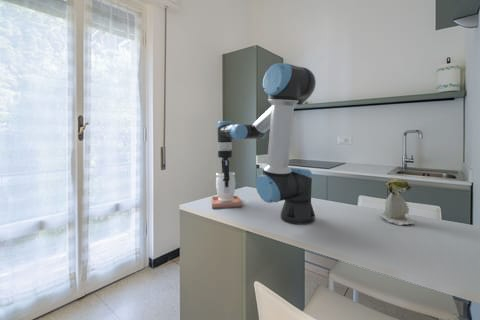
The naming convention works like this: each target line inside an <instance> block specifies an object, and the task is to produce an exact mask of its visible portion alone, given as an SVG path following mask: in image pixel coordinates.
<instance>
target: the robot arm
mask: <svg viewBox="0 0 480 320" xmlns="http://www.w3.org/2000/svg"><path fill="white" fill-rule="evenodd" d="M262 88H263V90H264V93H266V95H268V98H267V101H268V102H269V103H270V105H271V106H270V107H269V108H268V109H267V110H265V112H264V113H262V115H261V116H259V117H258V119H256V120H255V121H254V122H253V123H252V124H248V123H247V124H244V123H243V124H241V123H235V124H232V121H231V120H219V121H218V122H217V149H218V151H217V156H218V157H217V158H220V159H221V172H223V173H224V179H223V181H224V193H229V180H230V179H229V172H230V161H229V160H228V159H229V158H230V159H231V158H232V157H233V151H232V150H233V147H232V146H234V144H233V140H236V141H240V140H241V141H242V140H260V139H264V138H266V135H267V132H268V130H269V134H268V137H269V138H268V149H267V162H266V165H265V166H264V167H262V174H261V175H259V176H258V177H257V178H256V181H255V188H256V192H257V194H258V195H259V197H260V199H262V201H264V202H266V203H268V204H271V203H272V204H273V203H279V202H281V201H284V203H283V204H282V208H281V211H280V219H281V220H282V221H284V222H285V223H289V224H292V225H293V224H294V225H307V224H312V223H314V222H315V221H316V214H315V211H314V208H313V205H312V190H313V189H312V188H313V187H312V184H313V183H312V182H313V176H312V170H310V169H307V168H301V167H290V166H289V160H290V151H291V139H292V131H293V119H294V110H295V109H294V108H295V107H297V106H301V105H303V103H305V102H306V101H307V100H308V99H309V98H310V97H311V96H312V94H313V93H314V91H315V89H316V77H315V74H314V73H313V72H312V71H311V69H309V68H307V67H303V66H298V65H293V64H289V63H281V62H277V63H274V64H272V65H271V66H270V67H269V68H268V69H267V70H266V71H265V74H264V76H263V80H262Z"/></svg>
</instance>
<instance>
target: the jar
mask: <svg viewBox="0 0 480 320" xmlns="http://www.w3.org/2000/svg"><path fill="white" fill-rule="evenodd" d="M235 175H236V173H235V172H233V171H229V179H230V180H229V193H224V181H223V179H224V173H223V172H222V171H219V172H216V173H215V176H216V179H215V187H216V194H217V196H219V198H218V200H219V201H223V202H228V201H232V200H233V199H234V198H233V196H234V195H235V189H236V178H235Z"/></svg>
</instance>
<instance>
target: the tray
mask: <svg viewBox="0 0 480 320" xmlns="http://www.w3.org/2000/svg"><path fill="white" fill-rule="evenodd" d="M218 198H219V196H218V195H217V196H210V200H211V201H210V202H211V209H212V210H213V209H228V208H230V209H231V208H242V207H243V202H242V200H241V198H240V196H239V195H238V194H237V195H236V194H234V195H233V198H234V199H233V200H232V201H228V202H223V201H219V200H218Z"/></svg>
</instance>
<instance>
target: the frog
mask: <svg viewBox="0 0 480 320" xmlns="http://www.w3.org/2000/svg"><path fill="white" fill-rule="evenodd" d="M385 187H386V188H388V190H387V191H388V192H389V195H388V196H387V197H386V201H385V204H384V205H385V206H384V212H380V217H381V218H382V219H385V221H386V222H387V223H390V224H392V223H393V224H395V225H396V226H398V225H399V226H400V227H401V226H403V225H413V224H414V225H415V224H416V223H415V221H412V220H411V218H410V216H408V215H407V214H409V212H410V208H409V205H408V204H407V202H406V201H405V199H404V196H403V195H402V193H404V192H409V191H410V190H412V189H413V187H412V186H410V185H409V182H408V181H406V180H404V179H399V178H397V179H396V178H393V179H391V180H389V181H388V182H386V183H385Z"/></svg>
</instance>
